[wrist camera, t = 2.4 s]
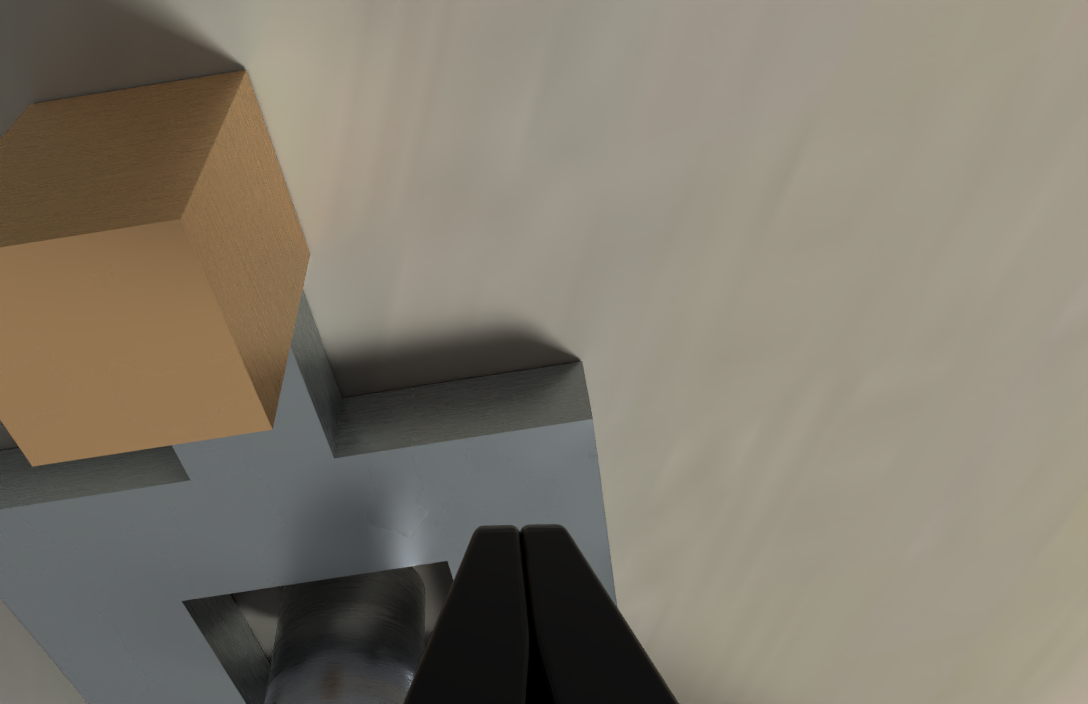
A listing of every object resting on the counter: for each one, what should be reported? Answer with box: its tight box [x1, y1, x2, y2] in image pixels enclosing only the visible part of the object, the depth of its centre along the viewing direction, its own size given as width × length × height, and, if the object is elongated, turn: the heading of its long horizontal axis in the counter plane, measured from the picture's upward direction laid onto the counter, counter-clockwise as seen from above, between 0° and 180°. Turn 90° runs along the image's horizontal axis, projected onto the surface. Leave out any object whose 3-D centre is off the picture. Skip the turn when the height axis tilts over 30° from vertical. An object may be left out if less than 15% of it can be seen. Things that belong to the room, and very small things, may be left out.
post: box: [264, 567, 425, 704], centre depth 18 cm, size 3×3×5 cm
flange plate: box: [0, 70, 617, 704], centre depth 16 cm, size 17×11×4 cm, turn 7°
